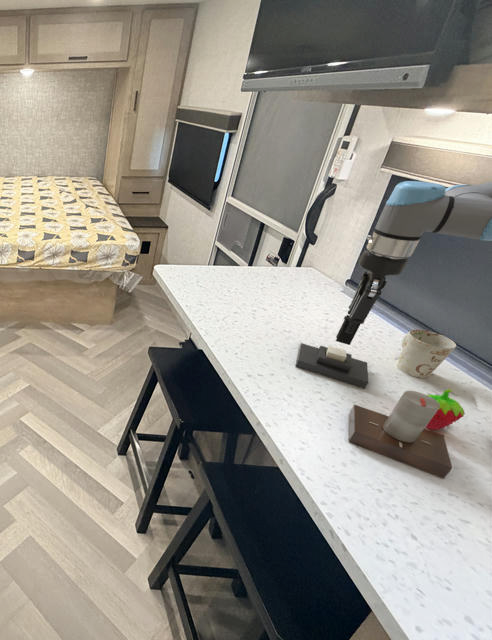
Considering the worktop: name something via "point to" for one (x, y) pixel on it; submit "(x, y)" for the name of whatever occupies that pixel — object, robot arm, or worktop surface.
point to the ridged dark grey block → (332, 366)
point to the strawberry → (445, 411)
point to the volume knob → (410, 416)
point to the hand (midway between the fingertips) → (342, 340)
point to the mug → (423, 352)
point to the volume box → (399, 443)
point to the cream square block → (336, 353)
